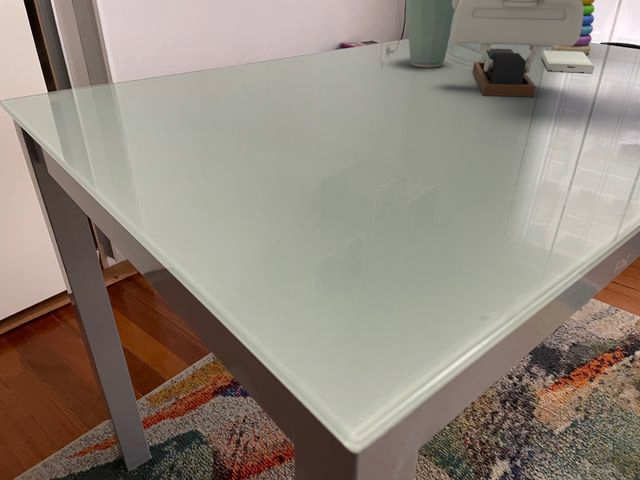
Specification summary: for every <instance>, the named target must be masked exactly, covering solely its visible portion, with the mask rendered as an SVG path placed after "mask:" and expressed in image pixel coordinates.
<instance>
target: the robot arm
mask: <svg viewBox="0 0 640 480" xmlns="http://www.w3.org/2000/svg"><path fill="white" fill-rule="evenodd" d="M452 7H453V9H454V10H455V11H454V15H453V19H452V24H451V29H450V37H449V38H450V39H451V40H452V42H453V43H454V44H473V45H474V44H478V45H479V46H480V47H479V49H480V52H481V55H482V57H483V59H484V60H485V64H484V71H485V72H493V70H494V64H495V61H494V59H489V56H488V54H487V51H490V49H492V48H491V47H492V45H516V46H517V45H519V46H521V45H523V46H529V50H530V51H531V52H530V53H529V54H528V56H527V57H526V58H525V59H524V60H525V61H526V66H525V72H524V73H526V74H530V72H531V66H532V63H533V62H535V60H536V59H537V58H538V56H539V55H540V54H541V52H542V47H543V46H552V45H556V46H572V45H574V44H575V43H576V42H577V41H578V40H579V37H580V33H581V28H582V21H583V3H582V1H581V0H452ZM486 50H487V51H486Z"/></svg>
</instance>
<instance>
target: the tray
mask: <svg viewBox="0 0 640 480" xmlns="http://www.w3.org/2000/svg"><path fill="white" fill-rule="evenodd" d="M483 66H484V61H474V62H473V67H472V73H473V75H474V77H475V80H476V82H477V84H478V87H479V89H480V92H481V95H482V96H488V97H489V96H490V97H491V96H492V97H515V96H534V97H535V92H536V87H537V86H536V84H535V83H534V82H533V80H532V79H531V78H530V77H529V75H528V73H524V77H523V82H522V85H517V84H493V83H492V81H491V79H487V77H486V75H485V73H484V71H483Z"/></svg>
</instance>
